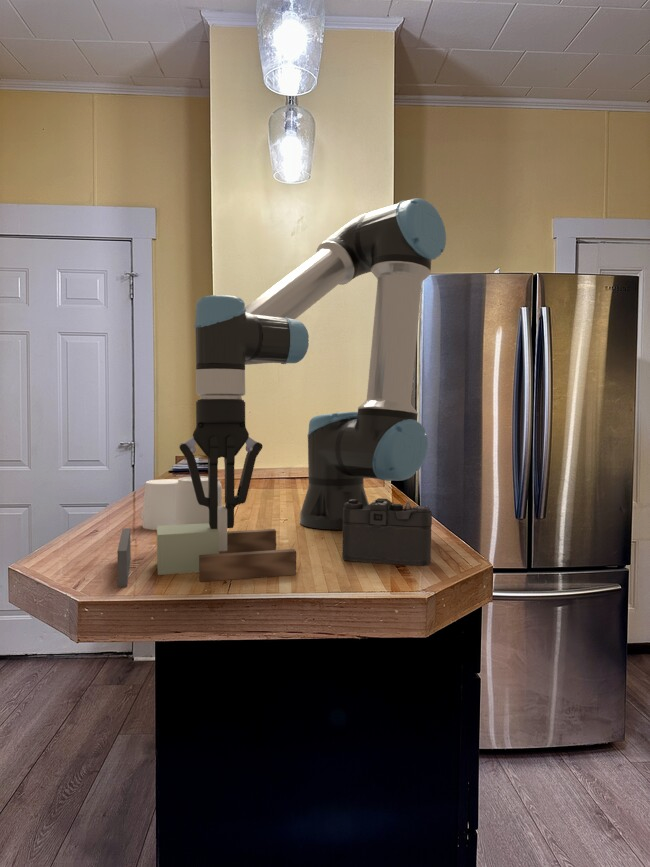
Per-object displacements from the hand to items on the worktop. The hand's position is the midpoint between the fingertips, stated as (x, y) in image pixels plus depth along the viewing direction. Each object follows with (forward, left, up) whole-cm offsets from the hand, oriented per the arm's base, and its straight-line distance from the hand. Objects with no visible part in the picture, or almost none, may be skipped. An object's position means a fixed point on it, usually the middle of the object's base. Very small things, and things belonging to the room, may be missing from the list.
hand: (221, 549), depth 98 cm
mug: (+6, -34, -3) cm, 35 cm away
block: (+5, -1, -3) cm, 6 cm away
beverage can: (+2, -15, -3) cm, 15 cm away
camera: (-27, +2, -3) cm, 27 cm away
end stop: (+14, 0, -3) cm, 15 cm away
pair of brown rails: (-3, 0, -3) cm, 4 cm away
